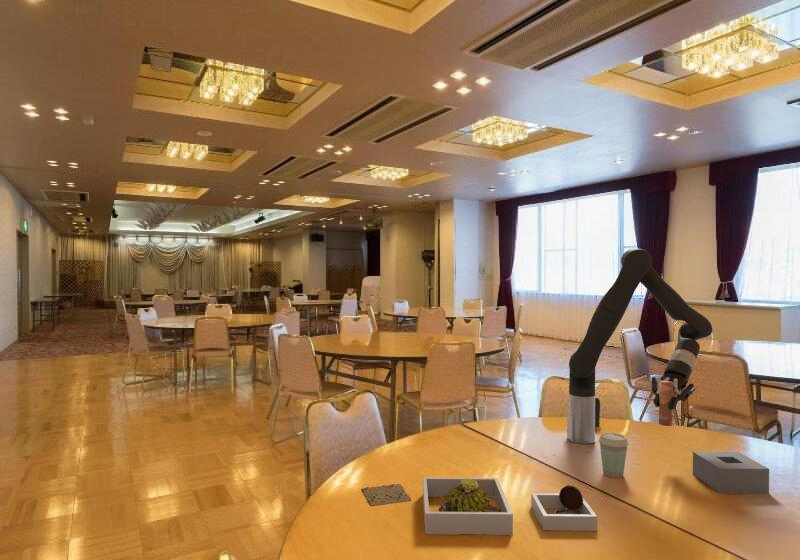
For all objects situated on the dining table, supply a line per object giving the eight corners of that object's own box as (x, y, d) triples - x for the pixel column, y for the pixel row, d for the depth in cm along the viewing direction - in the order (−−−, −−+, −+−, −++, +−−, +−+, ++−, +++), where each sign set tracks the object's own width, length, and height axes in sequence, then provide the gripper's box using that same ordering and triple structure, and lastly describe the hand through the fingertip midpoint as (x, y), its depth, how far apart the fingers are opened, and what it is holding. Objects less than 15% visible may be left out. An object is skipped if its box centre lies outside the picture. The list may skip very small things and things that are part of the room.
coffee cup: (631, 481, 158) (631, 441, 158) (601, 478, 160) (601, 439, 159) (624, 470, 166) (625, 432, 166) (596, 468, 168) (596, 431, 168)
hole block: (719, 492, 149) (719, 468, 149) (692, 473, 163) (692, 451, 163) (768, 493, 149) (769, 468, 149) (738, 474, 163) (738, 451, 163)
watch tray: (543, 530, 128) (543, 516, 128) (531, 506, 141) (531, 493, 141) (597, 530, 128) (597, 516, 128) (579, 506, 141) (580, 493, 141)
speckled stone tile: (369, 508, 141) (369, 504, 141) (360, 490, 152) (360, 486, 152) (412, 502, 144) (412, 499, 144) (400, 485, 156) (400, 482, 156)
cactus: (483, 540, 124) (483, 499, 124) (426, 521, 133) (426, 483, 133) (512, 512, 138) (512, 475, 138) (458, 497, 147) (458, 462, 147)
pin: (662, 426, 170) (663, 383, 170) (656, 422, 174) (657, 380, 174) (674, 426, 170) (675, 383, 170) (668, 422, 174) (669, 380, 174)
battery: (594, 422, 218) (594, 395, 218) (600, 425, 215) (600, 397, 215) (580, 424, 216) (580, 396, 216) (585, 426, 213) (586, 398, 213)
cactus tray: (425, 534, 126) (425, 513, 126) (422, 494, 148) (422, 477, 148) (512, 535, 126) (512, 514, 126) (497, 495, 148) (497, 477, 148)
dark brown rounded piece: (548, 519, 134) (548, 491, 133) (561, 508, 140) (561, 481, 139) (579, 529, 128) (579, 500, 128) (591, 518, 134) (591, 489, 134)
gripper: (655, 356, 182) (637, 395, 175) (699, 362, 171) (682, 404, 164) (662, 369, 186) (645, 409, 178) (706, 376, 174) (689, 418, 167)
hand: (663, 406), depth 171 cm, fingers closed on pin, 4 cm apart
